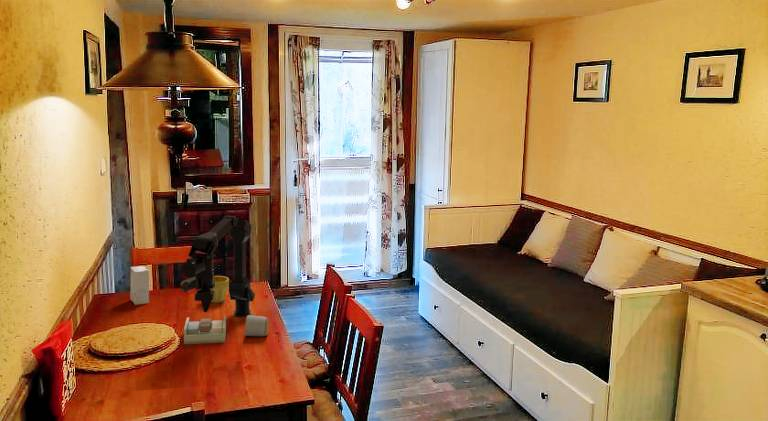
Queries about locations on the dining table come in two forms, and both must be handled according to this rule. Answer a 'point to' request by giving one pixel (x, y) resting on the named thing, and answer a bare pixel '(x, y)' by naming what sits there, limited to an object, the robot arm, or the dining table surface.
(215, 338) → the key bed
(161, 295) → the dining table surface
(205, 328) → the brown rectangular block
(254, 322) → the ceramic mug
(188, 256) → the robot arm
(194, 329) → the grey flat block
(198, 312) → the dining table surface
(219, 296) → the plant pot
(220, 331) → the ivory key
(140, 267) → the skincare box
